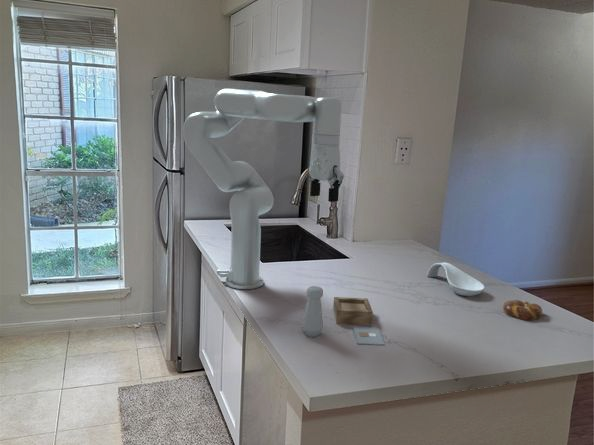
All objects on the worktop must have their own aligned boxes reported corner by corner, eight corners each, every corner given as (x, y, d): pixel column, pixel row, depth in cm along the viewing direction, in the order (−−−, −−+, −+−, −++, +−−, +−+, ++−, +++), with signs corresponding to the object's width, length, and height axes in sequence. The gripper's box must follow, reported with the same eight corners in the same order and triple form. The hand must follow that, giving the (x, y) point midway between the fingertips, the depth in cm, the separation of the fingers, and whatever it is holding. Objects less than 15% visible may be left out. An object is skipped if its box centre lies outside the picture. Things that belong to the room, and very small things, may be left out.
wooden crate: (336, 323, 145) (337, 310, 144) (333, 309, 155) (334, 296, 154) (371, 325, 145) (372, 311, 144) (366, 311, 155) (367, 298, 154)
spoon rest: (490, 298, 173) (494, 277, 171) (463, 302, 168) (466, 281, 166) (442, 275, 193) (445, 257, 192) (417, 278, 188) (419, 259, 187)
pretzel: (529, 307, 167) (531, 296, 166) (550, 321, 156) (552, 310, 155) (494, 307, 165) (496, 296, 164) (514, 321, 154) (516, 310, 153)
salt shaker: (300, 328, 141) (303, 283, 138) (321, 328, 141) (324, 283, 138) (302, 338, 135) (305, 291, 132) (324, 338, 136) (327, 291, 133)
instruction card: (357, 344, 134) (357, 342, 133) (352, 327, 143) (353, 326, 143) (384, 345, 134) (384, 343, 134) (378, 328, 143) (378, 327, 143)
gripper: (300, 138, 157) (298, 194, 161) (333, 143, 142) (329, 204, 146) (321, 138, 161) (318, 193, 164) (354, 143, 146) (351, 202, 150)
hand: (323, 198), depth 155 cm, fingers open, 9 cm apart
